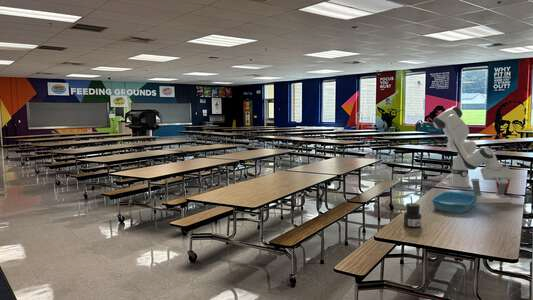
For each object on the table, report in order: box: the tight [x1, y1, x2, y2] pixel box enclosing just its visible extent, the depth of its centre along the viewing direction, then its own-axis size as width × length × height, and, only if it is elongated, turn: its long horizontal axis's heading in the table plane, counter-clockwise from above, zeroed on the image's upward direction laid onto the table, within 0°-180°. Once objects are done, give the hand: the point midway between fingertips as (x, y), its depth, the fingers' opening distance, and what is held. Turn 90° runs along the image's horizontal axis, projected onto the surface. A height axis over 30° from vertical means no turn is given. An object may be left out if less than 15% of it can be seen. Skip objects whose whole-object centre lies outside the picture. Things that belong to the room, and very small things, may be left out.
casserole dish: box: [431, 191, 477, 214], centre depth 244 cm, size 37×22×7 cm, turn 138°
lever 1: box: [470, 178, 482, 196], centre depth 263 cm, size 2×4×12 cm, turn 92°
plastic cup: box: [495, 180, 511, 194], centre depth 286 cm, size 11×11×12 cm
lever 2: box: [495, 180, 510, 196], centre depth 260 cm, size 2×4×12 cm, turn 91°
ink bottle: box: [403, 202, 422, 229], centre depth 206 cm, size 10×9×12 cm
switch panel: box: [470, 193, 512, 204], centre depth 263 cm, size 14×22×3 cm, turn 92°
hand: (502, 184), depth 260 cm, fingers closed, pressing on lever 2
